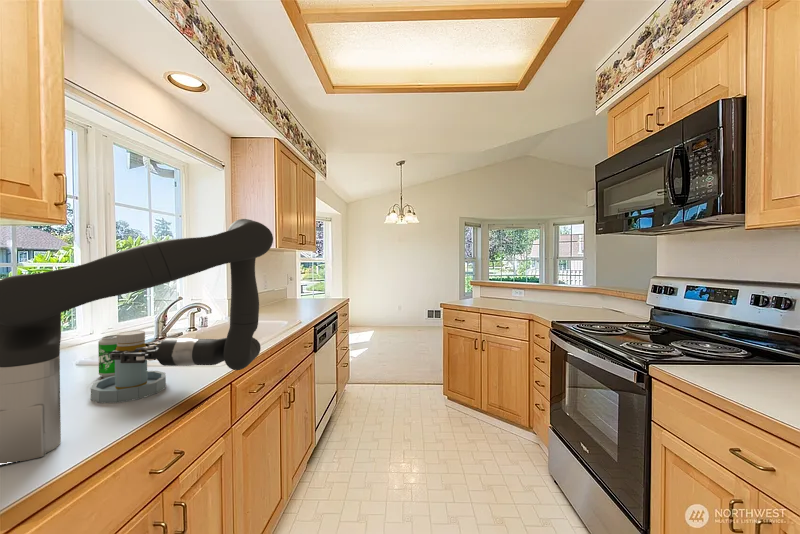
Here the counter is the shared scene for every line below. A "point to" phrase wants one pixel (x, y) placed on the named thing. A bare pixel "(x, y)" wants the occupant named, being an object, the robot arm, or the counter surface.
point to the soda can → (107, 355)
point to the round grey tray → (127, 389)
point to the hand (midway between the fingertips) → (124, 350)
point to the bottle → (130, 372)
